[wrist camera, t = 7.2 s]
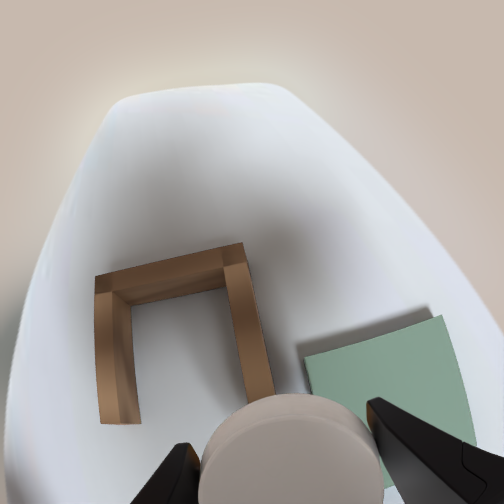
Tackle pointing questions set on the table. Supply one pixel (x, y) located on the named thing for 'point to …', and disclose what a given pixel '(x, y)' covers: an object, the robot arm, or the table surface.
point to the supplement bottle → (291, 455)
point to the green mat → (398, 378)
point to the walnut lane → (164, 287)
